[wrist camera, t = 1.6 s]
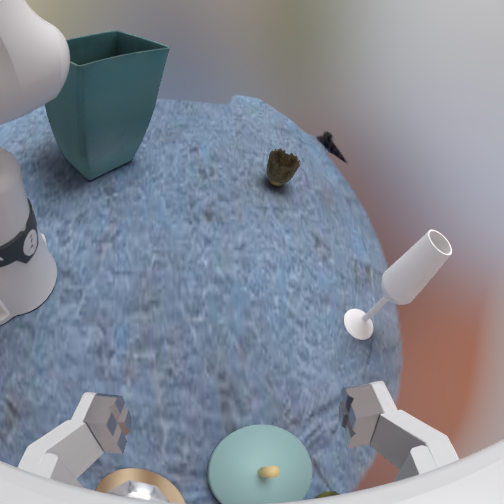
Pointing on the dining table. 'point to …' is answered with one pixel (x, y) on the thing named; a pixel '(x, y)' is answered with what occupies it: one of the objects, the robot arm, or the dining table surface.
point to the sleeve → (139, 491)
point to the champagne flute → (403, 280)
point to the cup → (281, 167)
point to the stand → (140, 476)
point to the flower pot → (106, 99)
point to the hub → (259, 467)
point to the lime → (327, 494)
